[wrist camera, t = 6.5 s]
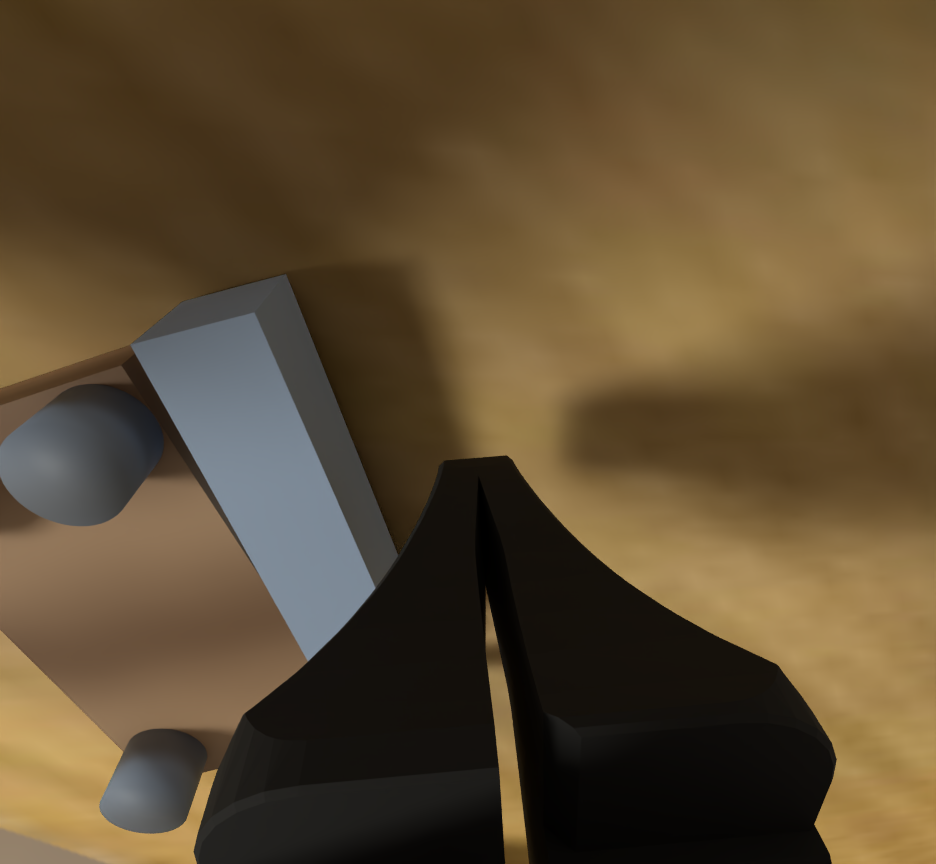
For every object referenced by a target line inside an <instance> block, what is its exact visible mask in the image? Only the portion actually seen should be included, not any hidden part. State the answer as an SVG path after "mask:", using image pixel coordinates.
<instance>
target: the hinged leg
mask: <svg viewBox="0 0 936 864" xmlns="http://www.w3.org/2000/svg"><path fill="white" fill-rule="evenodd" d="M130 345H131V347H132V349H133V351H134V353H135V354H136V356H137V358H138V360H139V362H140V363H141V365H142V367H143V369H144V370H145V372H146V374H147V376H148V378H149V379H150V381H151V383H152V385H153V386H154V388H155V390H156V392H157V394H158V395H159V397H160V399H161V401H162V402H163V404H164V406H165V408H166V410H167V411H168V413H169V415H170V417H171V418H172V420H173V422H174V424H175V426H176V427H177V429H178V431H179V433H180V434H181V436H182V438H183V440H184V442H185V443H186V445H187V447H188V449H189V451H190V452H191V454H192V456H193V458H194V459H195V461H196V463H197V465H198V467H199V468H200V470H201V472H202V474H203V475H204V477H205V479H206V481H207V483H208V484H209V486H210V488H211V490H212V491H213V493H214V495H215V497H216V499H217V500H218V502H219V504H220V506H221V507H222V509H223V511H224V513H225V515H226V516H227V518H228V520H229V522H230V524H231V525H232V527H233V529H234V531H235V532H236V534H237V536H238V538H239V540H240V541H241V543H242V545H243V547H244V548H245V550H246V552H247V554H248V556H249V557H250V559H251V561H252V563H253V564H254V566H255V568H256V570H257V572H258V573H259V575H260V577H261V579H262V580H263V582H264V584H265V586H266V588H267V589H268V591H269V593H270V595H271V596H272V598H273V600H274V602H275V604H276V605H277V607H278V609H279V611H280V613H281V614H282V616H283V618H284V620H285V621H286V623H287V625H288V627H289V629H290V630H291V632H292V634H293V636H294V637H295V639H296V641H297V643H298V645H299V646H300V648H301V650H302V652H303V653H304V655H305V657H306V659H307V661H309V660H310V659H311V658H312V657H313V656H314V655H315V654H316V653H317V652H318V651H319V650H320V649H321V648H322V647H323V646H324V645H325V644H326V643H327V642H328V641H329V640H330V639H331V638H332V637H333V636H334V635H336V634H337V633H338V632H339V630H340V629H341V628H342V627H343V626H344V625H345V624H346V623H347V622H348V621H349V620H350V618H351V617H352V616H353V615H354V614H355V613H356V611H357V610H358V609H359V608H360V607H361V605H362V604H363V603H364V602H365V601H366V599H367V598H368V597H369V596H370V595H371V593H372V592H373V591H374V590H375V588H376V587H377V586H378V584H379V583H380V581H381V580H382V579H383V577H384V576H385V575H386V573H387V572H388V570H389V569H390V567H391V566H392V564H393V563H394V561H395V560H396V558H397V557H398V554H397V551H396V549H395V546H394V544H393V541H392V539H391V536H390V534H389V531H388V529H387V526H386V524H385V521H384V519H383V516H382V514H381V511H380V509H379V506H378V504H377V501H376V499H375V496H374V494H373V491H372V489H371V486H370V484H369V481H368V478H367V476H366V473H365V471H364V468H363V466H362V463H361V461H360V458H359V456H358V453H357V451H356V448H355V446H354V443H353V441H352V438H351V436H350V433H349V431H348V428H347V426H346V423H345V421H344V418H343V416H342V413H341V411H340V408H339V406H338V403H337V401H336V398H335V396H334V393H333V391H332V388H331V386H330V383H329V381H328V378H327V376H326V373H325V371H324V368H323V366H322V363H321V361H320V358H319V356H318V353H317V351H316V348H315V345H314V343H313V340H312V338H311V335H310V333H309V330H308V328H307V325H306V323H305V320H304V318H303V315H302V313H301V310H300V308H299V305H298V303H297V300H296V298H295V295H294V293H293V290H292V288H291V285H290V283H289V280H288V278H287V275H286V274H284V275H280V276H276V277H273V278H269V279H265V280H261V281H258V282H254V283H250V284H246V285H242V286H239V287H235V288H231V289H227V290H224V291H220V292H216V293H212V294H209V295H205V296H201V297H197V298H193V299H190V300H186V301H182V302H181V303H180V304H179V305H178V306H176V307H175V308H174V309H173V310H172V311H170V312H169V313H168V314H167V315H166V316H164V317H163V318H162V319H161V320H159V321H158V322H157V323H156V324H155V325H153V326H152V327H151V328H150V329H149V330H147V331H146V332H145V333H144V334H143V335H141V336H140V337H139V338H138V339H137V340H135V341H134V342H133V343H132V344H130Z"/></svg>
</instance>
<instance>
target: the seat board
mask: <svg viewBox="0 0 936 864" xmlns="http://www.w3.org/2000/svg"><path fill="white" fill-rule="evenodd" d="M0 630H1V631H2V632H3V633H4V634H5V635H6V636H7V637H8V638H9V639H10V640H11V641H12V642H13V643H14V644H15V645H16V646H17V647H18V648H19V649H20V650H21V651H22V652H23V653H24V654H25V655H26V656H27V657H28V658H29V659H30V660H31V661H32V662H33V663H34V664H35V665H36V666H37V667H38V668H39V669H40V670H41V671H42V672H43V673H44V674H45V675H46V676H47V677H48V678H49V679H51V680H52V681H53V682H54V683H55V684H56V685H57V686H58V687H59V688H60V689H61V690H62V691H63V692H64V693H65V694H66V695H67V696H68V697H69V698H70V699H71V700H72V701H73V702H74V703H75V704H76V705H77V706H78V707H79V708H80V709H81V710H82V711H83V712H84V713H85V714H86V715H87V716H88V717H89V718H90V719H91V720H92V721H93V722H94V723H95V724H96V725H97V726H98V727H99V728H100V729H101V730H102V731H103V732H104V733H105V734H106V735H107V736H108V737H109V738H110V739H111V740H112V741H113V742H114V743H115V744H116V745H117V746H118V747H119V748H120V749H121V750H122V751H123V755H122V757H121V759H120V761H119V763H118V765H117V767H116V769H115V771H114V774H113V776H112V778H111V780H110V782H109V784H108V786H107V788H106V791H105V793H104V795H103V797H102V799H101V801H100V811H101V813H102V815H103V816H104V817H105V818H106V819H107V820H108V821H109V822H111V823H112V824H114V825H116V826H118V827H120V828H123V829H125V830H129V831H133V832H138V833H163V832H168V831H171V830H174V829H176V828H178V827H179V826H181V825H182V824H183V823H184V822H185V821H186V819H187V816H188V813H189V810H190V807H191V804H192V801H193V798H194V796H195V793H196V790H197V787H198V784H199V781H200V778H201V775H202V773H203V772H207V771H211V770H215V769H218V768H219V766H220V764H221V761H222V759H223V757H224V755H225V753H226V750H227V748H228V745H229V743H230V741H231V739H232V737H233V735H234V732H235V730H236V728H237V726H238V724H239V722H240V720H241V718H242V716H243V714H244V713H245V712H247V711H248V710H250V709H251V708H252V707H254V706H255V705H256V704H257V703H259V702H260V701H261V700H262V699H264V698H265V697H266V696H267V695H269V694H270V693H271V692H272V691H274V690H275V689H276V688H277V687H279V686H280V685H281V684H282V683H284V682H285V681H286V680H287V679H289V678H290V677H291V676H292V675H294V674H295V673H296V672H297V671H298V670H299V669H300V668H302V667H303V666H304V665H305V664H306V663H307V662H308V661H307V659H306V657H305V655H304V653H303V652H302V650H301V648H300V646H299V645H298V643H297V641H296V639H295V637H294V636H293V634H292V632H291V630H290V629H289V627H288V625H287V623H286V621H285V620H284V618H283V616H282V614H281V613H280V611H279V609H278V607H277V605H276V604H275V602H274V600H273V598H272V596H271V595H270V593H269V591H268V589H267V588H266V586H265V584H264V582H263V580H262V579H261V577H260V575H259V573H258V572H257V570H256V568H255V566H254V564H253V563H252V561H251V559H250V557H249V556H248V554H247V552H246V550H245V548H244V547H243V545H242V543H241V541H240V540H239V538H238V536H237V534H236V532H235V531H234V529H233V527H232V525H231V524H230V522H229V520H228V518H227V516H226V515H225V513H224V511H223V509H222V507H221V506H220V504H219V502H218V500H217V499H216V497H215V495H214V493H213V491H212V490H211V488H210V486H209V484H208V483H207V481H206V479H205V477H204V475H203V474H202V472H201V470H200V468H199V467H198V465H197V463H196V461H195V459H194V458H193V456H192V454H191V452H190V451H189V449H188V447H187V445H186V443H185V442H184V440H183V438H182V436H181V434H180V433H179V431H178V429H177V427H176V426H175V424H174V422H173V420H172V418H171V417H170V415H169V413H168V411H167V410H166V408H165V406H164V404H163V402H162V401H161V399H160V397H159V395H158V394H157V392H156V390H155V388H154V386H153V385H152V383H151V381H150V379H149V378H148V376H147V374H146V372H145V370H144V369H143V367H142V365H141V363H140V362H139V360H138V358H137V356H136V354H135V353H134V351H133V349H132V347H131V345H129V346H126V347H123V348H120V349H117V350H114V351H111V352H108V353H105V354H102V355H99V356H96V357H93V358H90V359H87V360H84V361H81V362H78V363H75V364H73V365H70V366H67V367H64V368H61V369H58V370H55V371H52V372H49V373H46V374H43V375H40V376H37V377H34V378H31V379H28V380H25V381H22V382H19V383H16V384H13V385H10V386H7V387H4V388H1V389H0Z"/></svg>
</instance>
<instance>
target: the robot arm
mask: <svg viewBox="0 0 936 864" xmlns="http://www.w3.org/2000/svg"><path fill="white" fill-rule="evenodd" d="M485 584H486V585H485ZM486 589H487V594H488V599H489V604H490V608H491V613H492V617H493V622H494V627H495V631H496V636H497V641H498V645H499V650H500V654H501V659H502V664H503V668H504V673H505V677H506V682H507V687H508V693H509V699H510V704H511V711H512V719H513V728H514V736H515V744H516V753H517V761H518V769H519V778H520V786H521V795H522V803H523V812H524V821H525V829H526V838H527V847H528V856H529V864H832V862H831V858H830V854H829V852H828V850H827V848H826V846H825V844H824V842H823V840H822V838H821V836H820V835H819V833H818V831H817V829H816V827H815V825H814V823H815V821H816V818H817V816H818V813H819V811H820V809H821V806H822V804H823V801H824V799H825V796H826V794H827V792H828V789H829V787H830V784H831V782H832V779H833V775H834V770H835V765H836V760H837V759H836V756H835V753H834V749H833V746H832V743H831V741H830V739H829V738H828V736H827V735H826V733H825V731H824V730H823V728H822V726H821V725H820V723H819V722H818V720H817V718H816V717H815V715H814V713H813V712H812V710H811V709H810V708H809V706H808V705H807V703H806V702H805V701H804V699H803V698H802V696H801V695H800V693H799V692H798V691H797V690H796V688H795V687H794V686H793V685H792V683H791V682H790V681H789V680H788V678H787V677H786V676H785V674H784V673H783V672H782V670H781V669H780V667H779V666H778V665H777V664H775V663H773V662H770V661H768V660H766V659H764V658H762V657H760V656H758V655H755V654H753V653H751V652H749V651H747V650H745V649H743V648H741V647H738V646H736V645H734V644H732V643H730V642H728V641H726V640H724V639H721V638H719V637H717V636H715V635H713V634H711V633H709V632H708V631H706V630H704V629H702V628H700V627H699V626H697V625H695V624H693V623H691V622H690V621H688V620H686V619H684V618H682V617H681V616H679V615H677V614H675V613H674V612H672V611H671V610H669V609H667V608H666V607H664V606H662V605H661V604H659V603H658V602H656V601H655V600H653V599H652V598H650V597H649V596H647V595H646V594H644V593H643V592H641V591H640V590H638V589H637V588H635V587H634V586H632V585H631V584H629V583H628V582H627V581H625V580H624V579H623V578H621V577H620V576H619V575H617V574H616V573H615V572H614V571H612V570H611V569H610V568H609V567H608V566H606V565H605V564H604V563H603V562H601V561H600V560H599V559H598V558H597V557H596V556H594V555H593V554H592V553H591V552H590V551H589V550H588V549H587V548H586V547H585V546H583V545H582V544H581V543H580V542H579V541H578V540H577V539H576V538H575V537H574V536H573V535H572V534H571V533H570V532H569V531H568V530H567V529H566V528H565V527H564V526H563V525H562V524H561V522H560V521H559V520H558V519H557V518H556V517H555V516H554V515H553V514H552V512H551V511H550V510H549V509H548V508H547V507H546V506H545V504H544V503H543V502H542V501H541V500H540V499H539V497H538V496H537V495H536V494H535V492H534V491H533V490H532V488H531V487H530V486H529V484H528V483H527V482H526V480H525V479H524V478H523V476H522V475H521V473H520V472H519V470H518V469H517V467H516V466H515V464H514V462H513V460H512V459H510V458H509V457H508V456H495V457H483V458H471V459H458V460H446V461H444V462H443V463H442V464H441V465H440V466H439V469H438V474H437V477H436V481H435V484H434V486H433V489H432V491H431V494H430V496H429V499H428V501H427V503H426V505H425V507H424V510H423V512H422V514H421V516H420V518H419V520H418V522H417V524H416V526H415V528H414V530H413V531H412V533H411V535H410V537H409V538H408V540H407V542H406V543H405V545H404V547H403V548H402V550H401V552H400V554H399V555H398V557H397V558H396V560H395V561H394V563H393V564H392V566H391V567H390V569H389V570H388V572H387V573H386V575H385V576H384V577H383V579H382V580H381V581H380V583H379V584H378V586H377V587H376V588H375V590H374V591H373V592H372V593H371V595H370V596H369V597H368V598H367V599H366V601H365V602H364V603H363V604H362V605H361V607H360V608H359V609H358V610H357V611H356V613H355V614H354V615H353V616H352V617H351V618H350V620H349V621H348V622H347V623H346V624H345V625H344V626H343V627H342V628H341V629H340V630H339V632H338V633H337V634H336V635H334V636H333V637H332V638H331V639H330V640H329V641H328V642H327V643H326V644H325V645H324V646H323V647H322V648H321V649H320V650H319V651H318V652H317V653H316V654H315V655H314V656H313V657H312V658H311V659H310V660H309V661H308V662H307V663H306V664H305V665H304V666H303V667H302V668H300V669H299V670H298V671H297V672H296V673H295V674H294V675H292V676H291V677H290V678H289V679H287V680H286V681H285V682H284V683H282V684H281V685H280V686H279V687H277V688H276V689H275V690H274V691H272V692H271V693H270V694H269V695H267V696H266V697H265V698H264V699H262V700H261V701H260V702H259V703H257V704H256V705H255V706H254V707H252V708H251V709H250V710H248V711H247V712H245V713H244V714H243V716H242V718H241V720H240V722H239V724H238V726H237V728H236V730H235V732H234V735H233V737H232V739H231V741H230V743H229V745H228V748H227V750H226V753H225V755H224V757H223V759H222V761H221V764H220V766H219V768H218V771H217V773H216V776H215V779H214V782H213V785H212V788H211V791H210V795H209V798H208V801H207V805H206V808H205V811H204V815H203V818H202V821H201V825H200V828H199V831H198V835H197V839H196V844H195V848H194V855H195V858H196V861H197V864H505V856H504V840H503V824H502V808H501V792H500V776H499V765H498V756H497V746H496V736H495V726H494V718H493V710H492V702H491V693H490V685H489V677H488V668H487V660H486Z"/></svg>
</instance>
